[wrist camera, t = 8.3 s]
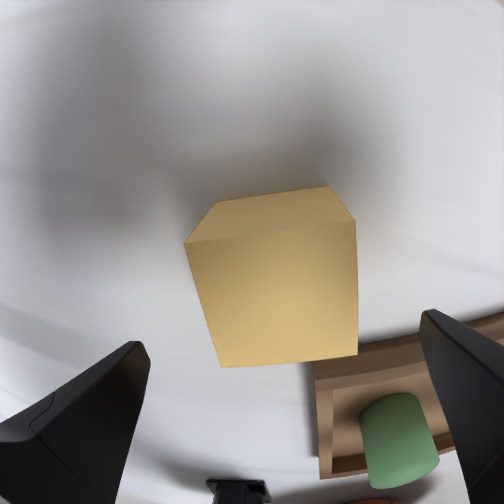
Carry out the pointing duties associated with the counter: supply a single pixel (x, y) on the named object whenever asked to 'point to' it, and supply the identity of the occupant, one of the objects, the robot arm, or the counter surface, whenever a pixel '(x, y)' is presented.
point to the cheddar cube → (278, 277)
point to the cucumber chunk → (397, 441)
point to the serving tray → (377, 395)
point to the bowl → (376, 501)
